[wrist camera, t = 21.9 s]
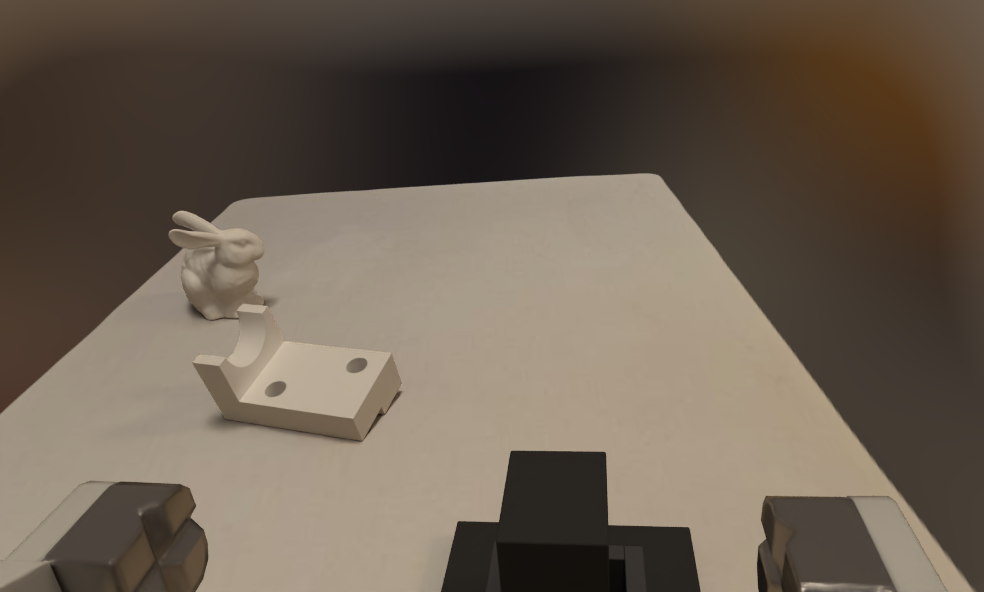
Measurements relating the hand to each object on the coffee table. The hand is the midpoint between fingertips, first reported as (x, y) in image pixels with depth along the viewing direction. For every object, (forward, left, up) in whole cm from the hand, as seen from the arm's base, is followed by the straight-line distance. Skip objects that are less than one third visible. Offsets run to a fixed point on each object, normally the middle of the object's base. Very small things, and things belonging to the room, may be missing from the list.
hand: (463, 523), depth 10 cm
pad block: (0, -17, -24) cm, 29 cm away
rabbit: (+39, -60, -25) cm, 76 cm away
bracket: (+22, -40, -25) cm, 52 cm away
